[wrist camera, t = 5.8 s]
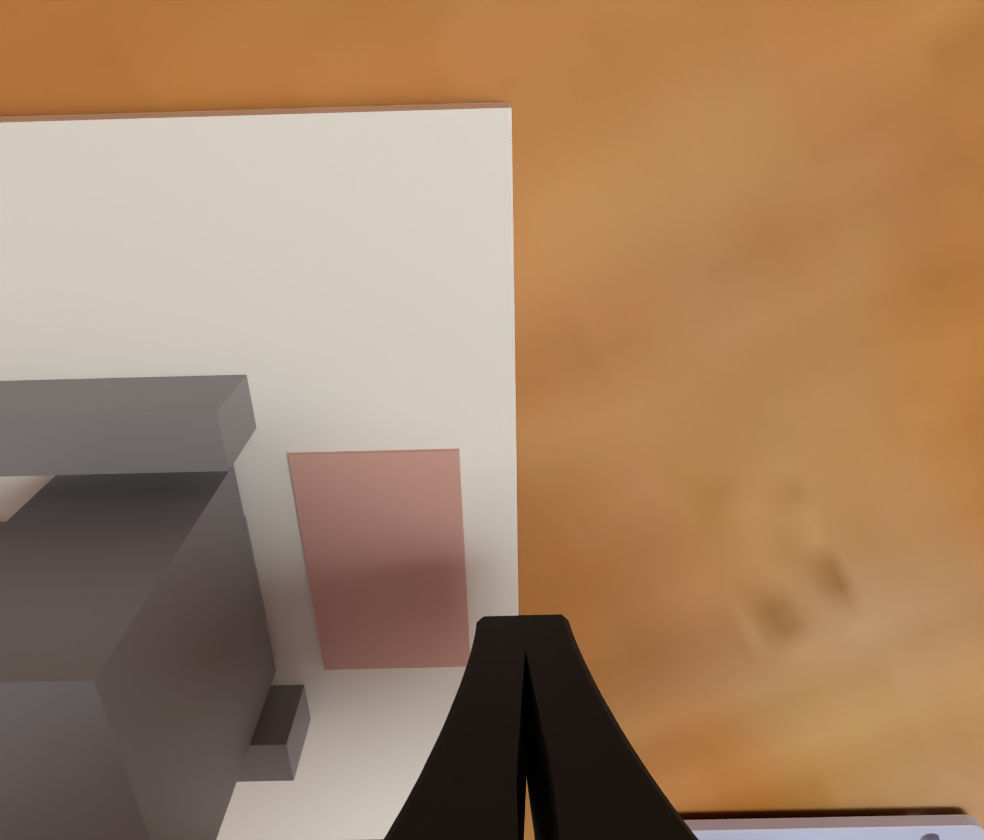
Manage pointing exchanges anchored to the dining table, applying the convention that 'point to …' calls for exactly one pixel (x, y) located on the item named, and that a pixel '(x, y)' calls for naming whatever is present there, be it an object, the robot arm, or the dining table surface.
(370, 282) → the white board with rails
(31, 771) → the switch knob
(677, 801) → the dining table surface
